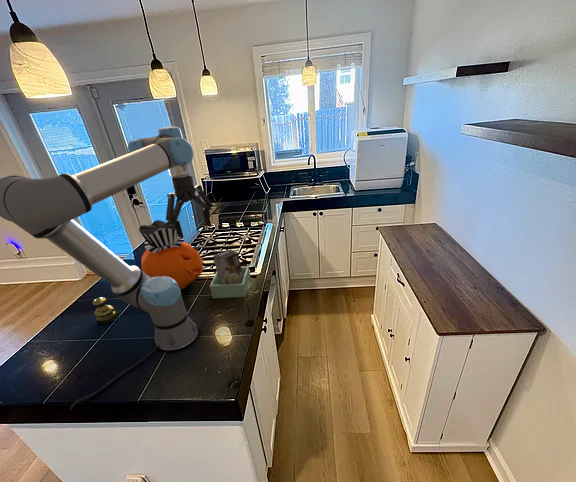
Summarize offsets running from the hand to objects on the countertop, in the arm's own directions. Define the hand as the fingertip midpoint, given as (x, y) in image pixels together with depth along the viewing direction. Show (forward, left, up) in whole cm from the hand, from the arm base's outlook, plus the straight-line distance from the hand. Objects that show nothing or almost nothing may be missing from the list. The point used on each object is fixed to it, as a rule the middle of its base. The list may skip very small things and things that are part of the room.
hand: (195, 231), depth 126 cm
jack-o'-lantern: (-4, +19, -29) cm, 35 cm away
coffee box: (+8, -6, -28) cm, 30 cm away
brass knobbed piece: (-38, +20, -29) cm, 52 cm away
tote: (+8, -6, -29) cm, 30 cm away
